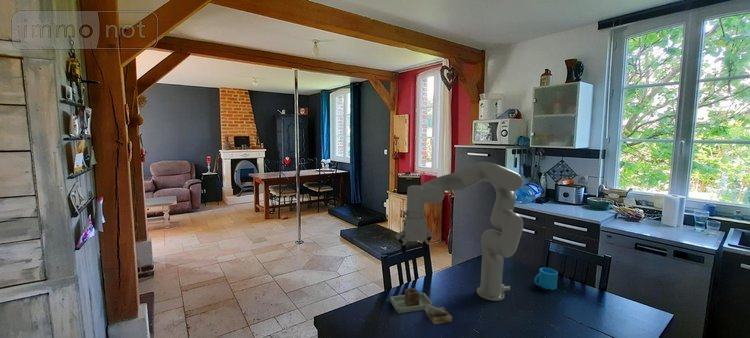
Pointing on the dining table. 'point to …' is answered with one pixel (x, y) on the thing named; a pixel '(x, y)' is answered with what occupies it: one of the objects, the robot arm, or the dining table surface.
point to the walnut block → (412, 297)
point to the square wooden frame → (440, 319)
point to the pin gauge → (434, 310)
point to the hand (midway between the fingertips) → (414, 252)
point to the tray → (401, 306)
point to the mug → (547, 278)
